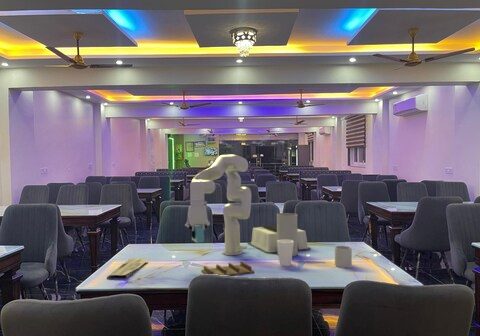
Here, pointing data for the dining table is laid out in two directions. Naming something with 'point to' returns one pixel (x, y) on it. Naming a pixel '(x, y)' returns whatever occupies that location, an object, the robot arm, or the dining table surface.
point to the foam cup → (285, 251)
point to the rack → (229, 269)
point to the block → (199, 234)
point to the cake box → (273, 239)
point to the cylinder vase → (287, 229)
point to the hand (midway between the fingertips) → (197, 237)
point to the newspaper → (128, 267)
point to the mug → (343, 256)
